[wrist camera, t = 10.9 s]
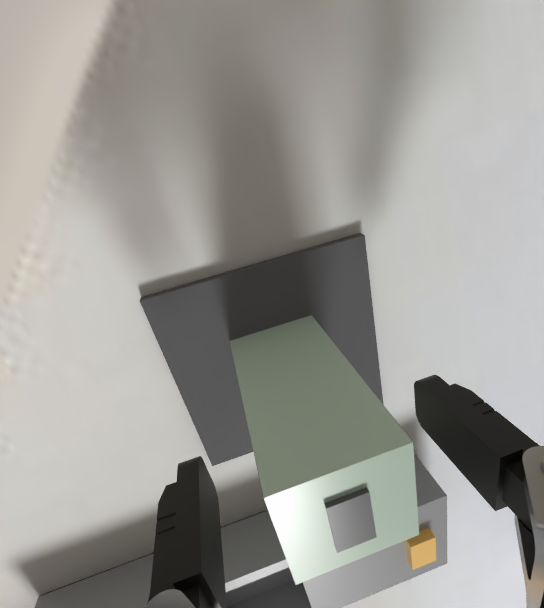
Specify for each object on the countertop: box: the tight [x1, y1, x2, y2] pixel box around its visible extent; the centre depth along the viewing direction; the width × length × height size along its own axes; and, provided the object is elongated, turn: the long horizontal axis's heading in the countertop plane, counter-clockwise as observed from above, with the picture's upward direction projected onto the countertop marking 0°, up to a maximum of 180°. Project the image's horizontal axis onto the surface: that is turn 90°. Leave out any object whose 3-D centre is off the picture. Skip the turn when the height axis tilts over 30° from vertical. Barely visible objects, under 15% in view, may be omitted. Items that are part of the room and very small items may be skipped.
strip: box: [35, 455, 447, 608], centre depth 20 cm, size 24×7×4 cm, turn 103°
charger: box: [230, 315, 419, 585], centre depth 13 cm, size 4×4×8 cm
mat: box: [140, 233, 383, 466], centre depth 17 cm, size 10×10×1 cm
